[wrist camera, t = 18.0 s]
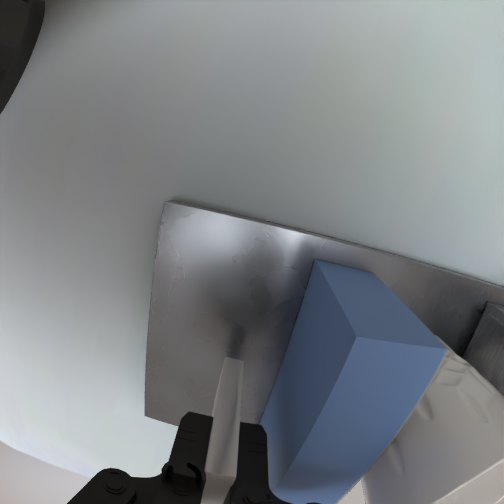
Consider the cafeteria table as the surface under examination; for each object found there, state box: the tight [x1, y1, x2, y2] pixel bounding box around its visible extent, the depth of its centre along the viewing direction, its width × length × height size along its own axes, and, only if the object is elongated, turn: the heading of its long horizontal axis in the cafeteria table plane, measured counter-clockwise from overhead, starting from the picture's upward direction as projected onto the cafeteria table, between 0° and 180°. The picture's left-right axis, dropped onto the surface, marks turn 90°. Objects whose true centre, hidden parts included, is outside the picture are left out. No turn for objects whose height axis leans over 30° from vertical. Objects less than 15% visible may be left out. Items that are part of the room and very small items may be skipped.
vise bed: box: [145, 200, 504, 426], centre depth 15 cm, size 22×14×1 cm, turn 77°
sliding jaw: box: [259, 259, 447, 504], centre depth 11 cm, size 4×12×7 cm, turn 167°
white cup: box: [361, 335, 504, 504], centre depth 10 cm, size 8×8×10 cm
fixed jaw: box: [462, 302, 504, 396], centre depth 11 cm, size 4×12×7 cm, turn 167°
